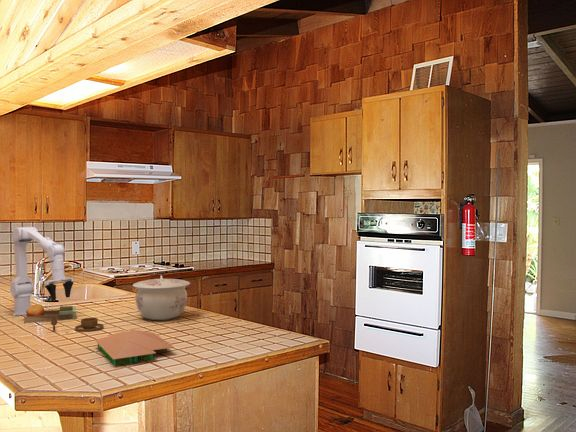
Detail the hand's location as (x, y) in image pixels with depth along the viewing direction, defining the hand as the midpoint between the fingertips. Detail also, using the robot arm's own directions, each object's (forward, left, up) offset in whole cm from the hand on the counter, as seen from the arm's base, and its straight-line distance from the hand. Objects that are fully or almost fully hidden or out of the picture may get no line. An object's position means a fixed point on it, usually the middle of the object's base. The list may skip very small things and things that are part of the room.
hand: (61, 298), depth 261 cm
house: (+70, +26, -11) cm, 75 cm away
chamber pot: (+12, +46, -11) cm, 48 cm away
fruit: (-8, -11, -11) cm, 18 cm away
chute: (-8, -5, -11) cm, 15 cm away
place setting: (+21, +8, -11) cm, 26 cm away
